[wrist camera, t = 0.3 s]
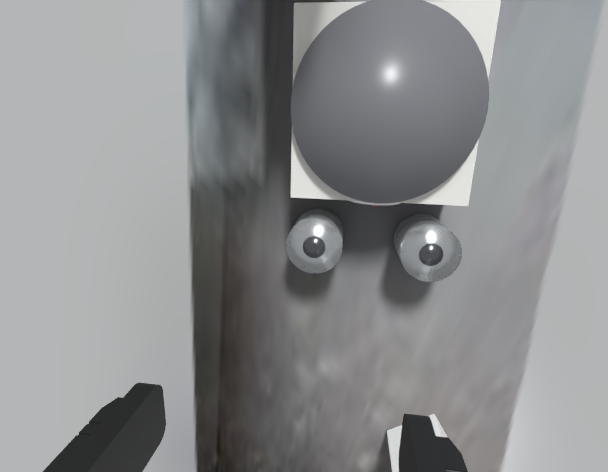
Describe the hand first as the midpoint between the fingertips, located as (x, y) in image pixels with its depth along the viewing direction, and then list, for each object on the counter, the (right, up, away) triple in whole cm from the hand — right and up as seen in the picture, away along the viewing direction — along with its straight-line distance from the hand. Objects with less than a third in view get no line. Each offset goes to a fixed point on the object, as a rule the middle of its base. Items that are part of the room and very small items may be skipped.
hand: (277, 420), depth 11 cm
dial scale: (+8, +17, +20) cm, 28 cm away
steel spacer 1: (+2, +6, +24) cm, 25 cm away
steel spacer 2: (+12, +6, +23) cm, 27 cm away
